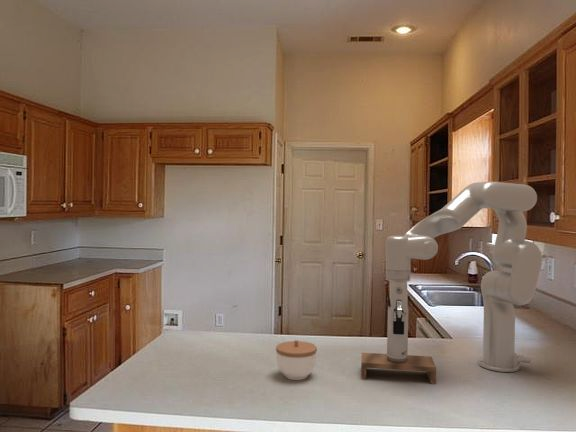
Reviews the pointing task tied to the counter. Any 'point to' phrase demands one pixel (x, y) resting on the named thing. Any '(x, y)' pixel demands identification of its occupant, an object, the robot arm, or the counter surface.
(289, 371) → the lidded bowl
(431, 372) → the riser shelf
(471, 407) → the counter surface
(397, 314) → the robot arm
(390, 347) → the travel mug
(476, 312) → the counter surface
